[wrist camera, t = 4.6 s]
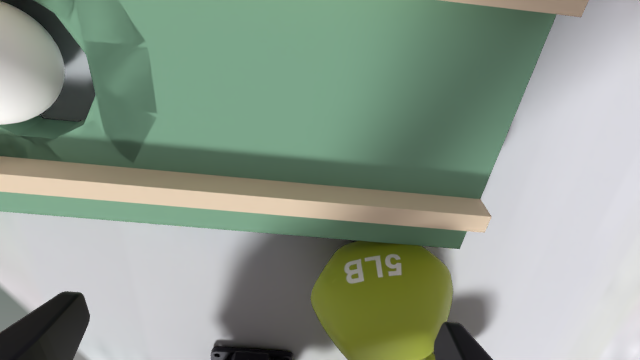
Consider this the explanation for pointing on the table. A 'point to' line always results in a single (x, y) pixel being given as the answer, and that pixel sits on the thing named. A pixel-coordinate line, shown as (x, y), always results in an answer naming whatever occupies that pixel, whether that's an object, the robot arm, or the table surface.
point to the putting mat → (285, 115)
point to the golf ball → (27, 67)
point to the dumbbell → (383, 300)
